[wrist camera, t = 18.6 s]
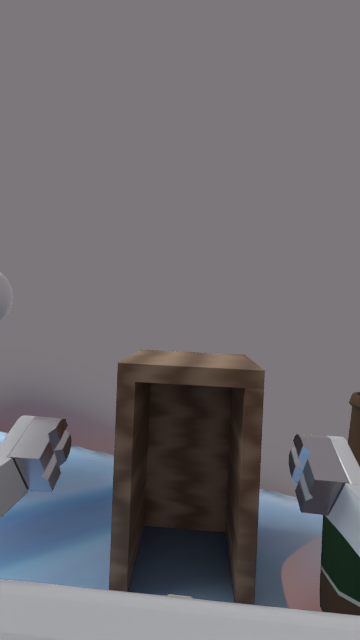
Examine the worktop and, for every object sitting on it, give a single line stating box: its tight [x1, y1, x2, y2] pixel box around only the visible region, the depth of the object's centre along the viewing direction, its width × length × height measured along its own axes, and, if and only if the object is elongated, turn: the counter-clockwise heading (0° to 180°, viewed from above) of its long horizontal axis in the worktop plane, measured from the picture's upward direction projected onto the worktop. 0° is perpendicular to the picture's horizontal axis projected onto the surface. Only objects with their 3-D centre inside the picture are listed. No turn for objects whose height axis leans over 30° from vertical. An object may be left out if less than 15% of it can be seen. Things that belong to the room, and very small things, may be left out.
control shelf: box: [109, 350, 265, 605], centre depth 38 cm, size 16×13×26 cm
